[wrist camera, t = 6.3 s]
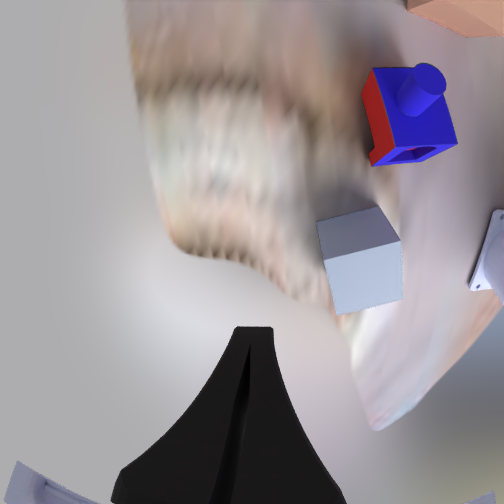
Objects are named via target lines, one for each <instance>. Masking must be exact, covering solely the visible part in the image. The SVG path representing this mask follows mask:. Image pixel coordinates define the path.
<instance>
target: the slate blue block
mask: <svg viewBox="0 0 504 504" xmlns="http://www.w3.org/2000/svg"><path fill="white" fill-rule="evenodd" d="M316 225H317V230H318V235H319V240H320V245H321V250H322V255H323V260H324V264H325V268H326V272H327V276H328V280H329V284H330V288H331V293H332V297H333V301H334V306H335V310H336V314H337V315H342V314H346V313H350V312H354V311H359V310H363V309H367V308H371V307H375V306H379V305H382V304H386V303H390V302H394V301H397V300H401V299H403V272H402V252H401V240H400V239H399V237H398V235H397V234H396V232H395V230H394V229H393V227H392V226H391V224H390V222H389V221H388V219H387V218H386V216H385V215H384V213H383V212H382V210H381V208H380V207H379V206H378V207H374V208H370V209H366V210H362V211H358V212H354V213H350V214H346V215H342V216H338V217H334V218H330V219H326V220H322V221H319V222H316Z"/></svg>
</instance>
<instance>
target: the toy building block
mask: <svg viewBox="0 0 504 504" xmlns="http://www.w3.org/2000/svg"><path fill="white" fill-rule="evenodd" d="M445 90H446V80H445V78H444V76H443V74H442V73H441V72H440V71H439V70H438V69H437V68H436V67H434V66H433V65H431V64H428V63H420V64H417V65H416V66H415V67H414V68H411V67H383V68H372V69H371V72H370V74H369V77H368V79H367V82H366V84H365V86H364V89H363V91H362V93H361V96H362V99H363V103H364V106H365V110H366V114H367V117H368V121H369V125H370V129H371V133H372V137H373V141H374V146H375V148H374V149H373V150H372V151H371V152H370V153H369V158H370V162H371V167H372V166H381V165H391V164H402V163H413V162H422V161H424V160H426V159H428V158H430V157H432V156H434V155H436V154H438V153H440V152H442V151H444V150H447V149H449V148H451V147H453V146H455V145H457V144H458V142H457V138H456V134H455V131H454V127H453V123H452V120H451V117H450V113H449V110H448V107H447V104H446V101H445V98H444V95H443V93H444V91H445Z"/></svg>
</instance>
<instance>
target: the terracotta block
mask: <svg viewBox="0 0 504 504" xmlns="http://www.w3.org/2000/svg"><path fill="white" fill-rule="evenodd" d="M407 11H409V12H411V13H414V14H416V15H419V16H421V17H423V18H426V19H428V20H430V21H433V22H435V23H437V24H439V25H441V26H443V27H446V28H448V29H450V30H452V31H454V32H456V33H458V34H459V35H461V36H463V37H481V36H504V0H407Z"/></svg>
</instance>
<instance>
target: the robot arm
mask: <svg viewBox="0 0 504 504" xmlns="http://www.w3.org/2000/svg"><path fill="white" fill-rule="evenodd" d="M501 215H502V216H501ZM469 289H470V290H471V291H475V290H484V289H493V290H494V292H495V293H496V295H497V296H498V298H499V299H500V301H501V302H502V304H503V305H504V210H500V209H497V210H495V211H494V212H493V214H492V218H491V221H490V225H489V229H488V232H487V235H486V239H485V242H484V245H483V248H482V251H481V254H480V257H479V260H478V263H477V265H476V268H475V271H474V273H473V276H472V279H471V281H470V284H469ZM4 501H5V502H6V503H7V504H99V503H97V502H94V501H92V500H90V499H88V498H85V497H83V496H81V495H79V494H77V493H74V492H72V491H70V490H68V489H66V488H65V487H64V486H62V485H60V484H58V483H56V482H54V481H52V480H51V479H49V478H47V477H45V476H43V475H41V474H39V473H37V472H36V471H34V470H32V469H31V468H29V467H27V466H26V465H24V464H22V463H21V462H19V461H17V462H16V465H15V468H14V471H13V473H12V476H11V479H10V482H9V485H8V488H7V491H6V495H5V498H4ZM111 502H112V503H114V504H347V503H346V501H345V499H344V496H343V494H342V491H341V489H340V488H339V486H338V485H337V484H336V483H335V481H334V480H333V478H332V477H331V475H330V474H329V472H328V471H327V469H326V468H325V466H324V465H323V463H322V462H321V460H320V458H319V457H318V455H317V453H316V452H315V450H314V448H313V446H312V444H311V443H310V441H309V439H308V437H307V436H306V434H305V432H304V430H303V428H302V426H301V424H300V422H299V419H298V417H297V415H296V413H295V410H294V408H293V406H292V403H291V401H290V398H289V396H288V393H287V390H286V388H285V385H284V382H283V379H282V375H281V372H280V368H279V366H278V361H277V357H276V352H275V347H274V332H273V328H271V327H240V326H237V327H236V328H235V329H234V331H233V334H232V336H231V339H230V341H229V343H228V345H227V347H226V349H225V351H224V353H223V355H222V357H221V359H220V360H219V362H218V364H217V366H216V368H215V369H214V371H213V373H212V375H211V376H210V378H209V379H208V381H207V382H206V384H205V385H204V387H203V388H202V390H201V391H200V393H199V394H198V395H197V397H196V398H195V400H194V401H193V402H192V404H191V405H190V406H189V407H188V409H187V410H186V411H185V412H184V414H183V415H182V416H181V417H180V418H179V419H178V420H177V421H176V423H175V424H174V425H173V426H172V427H171V428H170V429H169V430H168V431H167V432H166V433H165V434H164V435H163V436H162V437H161V438H160V439H159V440H158V441H157V442H156V443H154V444H153V445H152V446H151V447H150V448H149V449H148V450H147V451H145V452H144V453H143V454H142V455H141V456H139V457H138V458H137V459H135V460H134V461H133V462H131V463H130V464H129V465H127V466H126V467H124V468H123V469H122V470H121V471H120V473H119V476H118V478H117V480H116V482H115V486H114V489H113V493H112V497H111ZM463 504H496V501H495V493H494V491H491V492H489V493H486V494H484V495H482V496H480V497H478V498H476V499H474V500H471V501H468V502H465V503H463Z"/></svg>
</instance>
